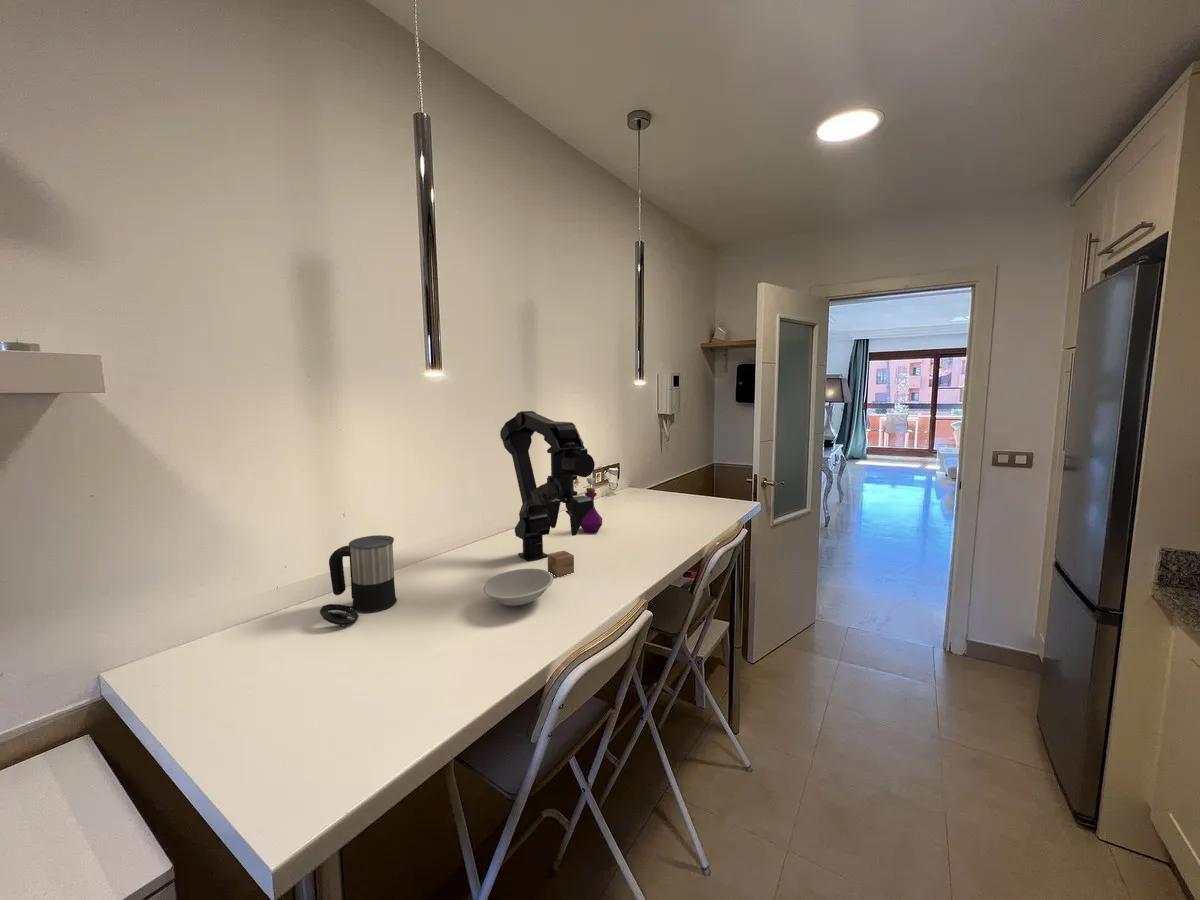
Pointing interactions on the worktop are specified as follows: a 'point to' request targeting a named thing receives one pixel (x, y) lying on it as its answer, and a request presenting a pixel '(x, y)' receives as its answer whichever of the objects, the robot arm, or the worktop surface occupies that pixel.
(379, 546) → the milk frother
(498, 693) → the worktop surface
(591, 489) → the perfume bottle
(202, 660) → the worktop surface
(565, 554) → the walnut block
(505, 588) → the dish
